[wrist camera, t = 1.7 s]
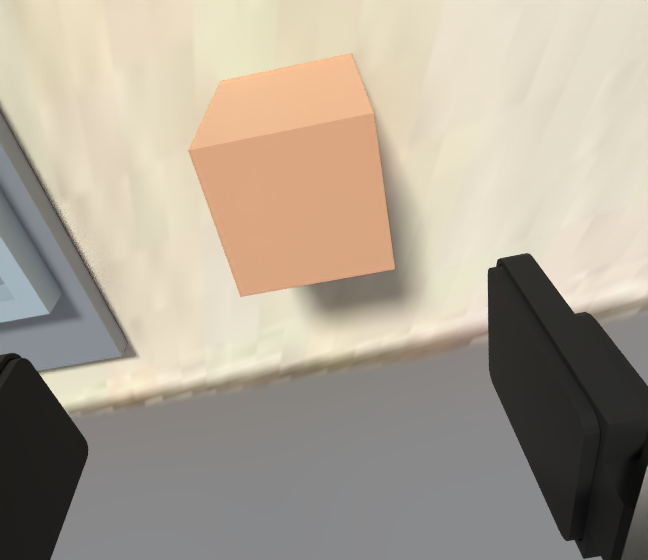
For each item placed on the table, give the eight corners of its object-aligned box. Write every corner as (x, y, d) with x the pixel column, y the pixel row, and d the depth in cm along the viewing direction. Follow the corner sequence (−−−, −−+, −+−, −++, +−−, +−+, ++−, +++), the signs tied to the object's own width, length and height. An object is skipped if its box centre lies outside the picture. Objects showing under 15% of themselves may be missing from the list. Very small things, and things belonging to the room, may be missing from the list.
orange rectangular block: (351, 53, 19) (373, 112, 14) (370, 176, 22) (395, 269, 16) (220, 80, 20) (188, 150, 14) (255, 198, 23) (240, 296, 17)
